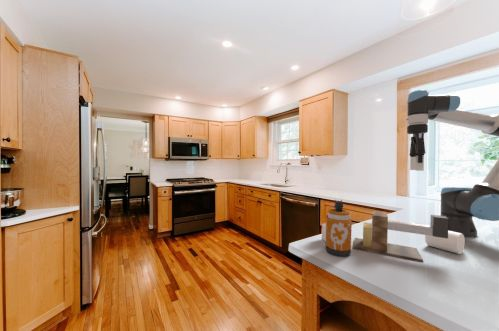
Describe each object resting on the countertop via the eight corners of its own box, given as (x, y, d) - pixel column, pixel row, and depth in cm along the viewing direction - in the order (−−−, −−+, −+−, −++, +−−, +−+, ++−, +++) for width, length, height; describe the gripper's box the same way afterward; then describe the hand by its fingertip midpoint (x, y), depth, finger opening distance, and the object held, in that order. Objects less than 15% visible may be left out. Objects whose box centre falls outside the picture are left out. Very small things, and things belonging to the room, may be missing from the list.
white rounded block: (457, 256, 79) (457, 235, 79) (424, 247, 87) (425, 228, 87) (467, 250, 85) (468, 230, 85) (436, 241, 93) (436, 224, 93)
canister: (325, 254, 78) (326, 201, 78) (325, 244, 88) (326, 197, 88) (352, 259, 75) (353, 203, 75) (349, 247, 85) (350, 198, 85)
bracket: (416, 250, 84) (417, 215, 84) (423, 262, 73) (424, 222, 73) (355, 239, 95) (355, 208, 95) (353, 248, 84) (353, 213, 84)
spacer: (371, 241, 90) (371, 223, 90) (371, 248, 83) (371, 228, 83) (363, 240, 91) (363, 222, 91) (362, 246, 84) (363, 226, 84)
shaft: (444, 235, 77) (444, 216, 76) (447, 238, 73) (448, 218, 73) (380, 226, 86) (380, 209, 86) (380, 228, 83) (380, 211, 83)
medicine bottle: (346, 243, 89) (346, 215, 89) (332, 245, 87) (332, 216, 87) (334, 237, 96) (335, 211, 96) (321, 239, 94) (322, 212, 94)
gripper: (403, 129, 110) (402, 169, 111) (412, 120, 89) (411, 170, 89) (421, 128, 107) (420, 169, 107) (435, 118, 85) (434, 171, 85)
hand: (416, 170), depth 98 cm, fingers open, 13 cm apart
